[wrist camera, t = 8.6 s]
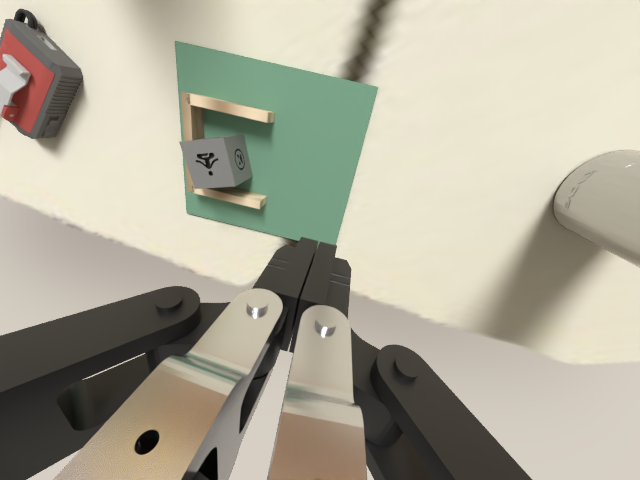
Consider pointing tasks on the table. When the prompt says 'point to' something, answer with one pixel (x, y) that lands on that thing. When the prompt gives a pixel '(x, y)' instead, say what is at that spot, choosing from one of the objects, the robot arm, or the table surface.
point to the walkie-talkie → (34, 78)
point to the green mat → (281, 140)
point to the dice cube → (217, 161)
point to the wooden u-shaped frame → (195, 130)
